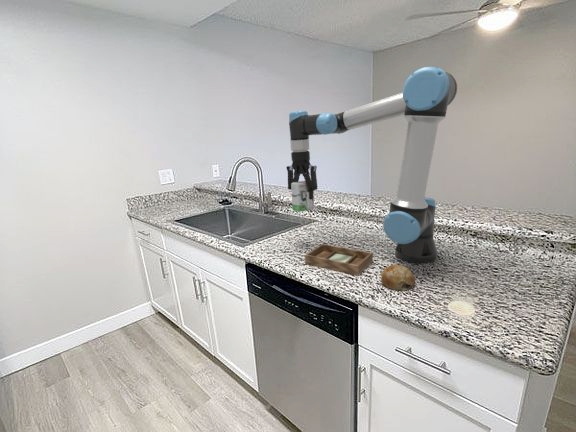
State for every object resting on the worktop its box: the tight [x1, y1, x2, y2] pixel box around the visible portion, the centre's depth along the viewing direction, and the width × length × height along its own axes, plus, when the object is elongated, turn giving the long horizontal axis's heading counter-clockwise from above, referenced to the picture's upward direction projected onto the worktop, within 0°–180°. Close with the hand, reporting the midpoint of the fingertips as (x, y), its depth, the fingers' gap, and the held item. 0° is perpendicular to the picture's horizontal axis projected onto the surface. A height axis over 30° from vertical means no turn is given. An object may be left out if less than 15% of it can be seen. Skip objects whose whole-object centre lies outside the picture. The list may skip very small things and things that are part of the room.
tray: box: [304, 243, 374, 277], centre depth 116 cm, size 22×14×4 cm, turn 54°
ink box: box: [290, 180, 315, 213], centre depth 129 cm, size 9×5×12 cm, turn 128°
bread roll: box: [379, 264, 416, 292], centre depth 97 cm, size 10×10×8 cm
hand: (303, 206), depth 130 cm, fingers closed on ink box, 6 cm apart
